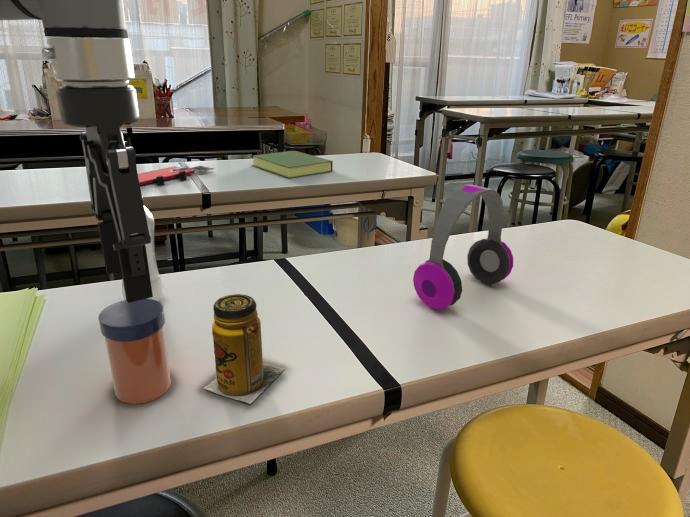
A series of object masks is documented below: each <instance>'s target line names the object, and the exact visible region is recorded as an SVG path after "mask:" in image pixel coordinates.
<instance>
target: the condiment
mask: <svg viewBox="0 0 690 517" xmlns="http://www.w3.org/2000/svg"><path fill="white" fill-rule="evenodd" d="M257 306H258V304H257V302H256V301H255V299H254V298H253V297H252V296H250V295H247V294H241V293H234V294H229V295H228V294H227V295H224V296H222V297H220V298H218V299H217V300H216V301H215V302H214V304H213V322H212V324H211V325H212V326H211V329H212V330H211V333H212V339H213V340H212V341H213V354H214V364H215V372H216V373H215V374H216V378H214V379H213V380H212V381H211V382H209V383H208V384H207V385H206V386H205V387H203V390H206V391H209V392H212V393H215V394H217V395H220V396H223V397H226V398H229V399H232V400H235V401H239V402H243V403H246V404H249V405H251V404H252V403H253V402H254V401H255V400H256V399H257V398H259V397H260V395H261V394H262V393H264V391H265V390H266V389H267V388H268V387H269V386H270V384H272V382H273V381H274V380H275V379H277V377H279V375H280V374H281V373H282V372H283V371H284V370H285V369H286V367H283V366H278V365H273V364H269V363H266V362H264V360H263V359H264V358H263V341H262V323H261V319H260V318H259V316H258V315H259V314H258V310H257Z"/></svg>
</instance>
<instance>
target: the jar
mask: <svg viewBox="0 0 690 517" xmlns="http://www.w3.org/2000/svg"><path fill="white" fill-rule="evenodd" d="M164 327H165V326H163V327H162V328H161V329H160V330H159V331H157V332H156V333H154V334H152V335H150V336H147V337H145V338H141V339H137V340H131V341H115V340H111V339H108V338H106V337H104V341H105V346H106V347H105V348H106V352H107V358H108V362H109V368H110V373H111V379H112V385H113V390H114V395H115V397H116V399H117V400H118V401H120V402H122V403H125V404H133V405H138V404H144V403H145V404H146V403H148V402H152V401H154V400H156V399H158V398H160V397H162V396H163V395H165V394H166V393H167V392H168V391H169V389H170V387H171V385H172V381H171V373H170V364H169V358H168V350H167V342H166V336H165V334H166V333H165V328H164Z"/></svg>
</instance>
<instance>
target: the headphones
mask: <svg viewBox="0 0 690 517" xmlns="http://www.w3.org/2000/svg"><path fill="white" fill-rule="evenodd" d="M479 196H480V197H481V198H482V199H483V201H484V204H485V206H486V209H487V216H488V229H487V232H488V234H487V238H482V239H479V240H477V241H475V242H474V243H473V244H472V245H471V246H470V247H469V250H468V252H467V255H466V256H467V257H466V259H467V262H466V263H467V266H468V269H469V272H470V274H471V275H472V276H473V277H474V279H475V280H477V281H479V282H480V283H482V284H485V285H493V284H494V285H495V284H497V283H500V282H501V281H504V280H505V279H506V278H508V276H510V274H511V272H512V270H513V268H514V256H513V253H512V250H511V248H510V247H509V246H508V245H507V243H506V242H504V241H502V231H503V225H504V210H505V209H504V202H503V199H502V197H501V195H500V193H499V192H498V191H496V190H495V189H492V188H488V187H485V186H479V185H475V184H467V183H466V184H461V185H459V186H457V187H455V188H454V189H453V190H452V191H451V193H449V195H447V197H446V199H445V201H444V203H443V204H442V207H441V208H440V212H439V214H438V217H437V221H436V224H435V229H434V231H433V235H432V239H431V244H430V251H429V258H428V259H427V260H425V261H424V262H423V263H420V264H419V265H418V267H417V268H416V269H415V270H414V272H413V278H412V283H413V288H414V291H415V292H416V295H417V297H418V298H419V299H420V301H421V302H422V303H423V304H425V305H426V306H427V307H429V308H431V309H435V310H443V309H446V308H449V307H450V306H453V305H455V304H456V303H457V302H458V301H459V300H460V299H461V296H462V293H463V284H462V278H461V277H460V274H459V272H458V270H457V269H456V268H455V267H454V266H453V264H452V263H451V262H448V261H447V260H445V259H444V254H445V249H446V245H447V243H448V241H449V239H450V236H451V233H452V231H453V229H454V227H455V226H456V224H457V222H458V220H459V219H460V217H461V216H462V214H463V213H464V212H465V211H466V209H467V208H468V206H469V205H470V204H471V203H472V202H474V201H475V200H476V199H477V198H478V197H479Z"/></svg>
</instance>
